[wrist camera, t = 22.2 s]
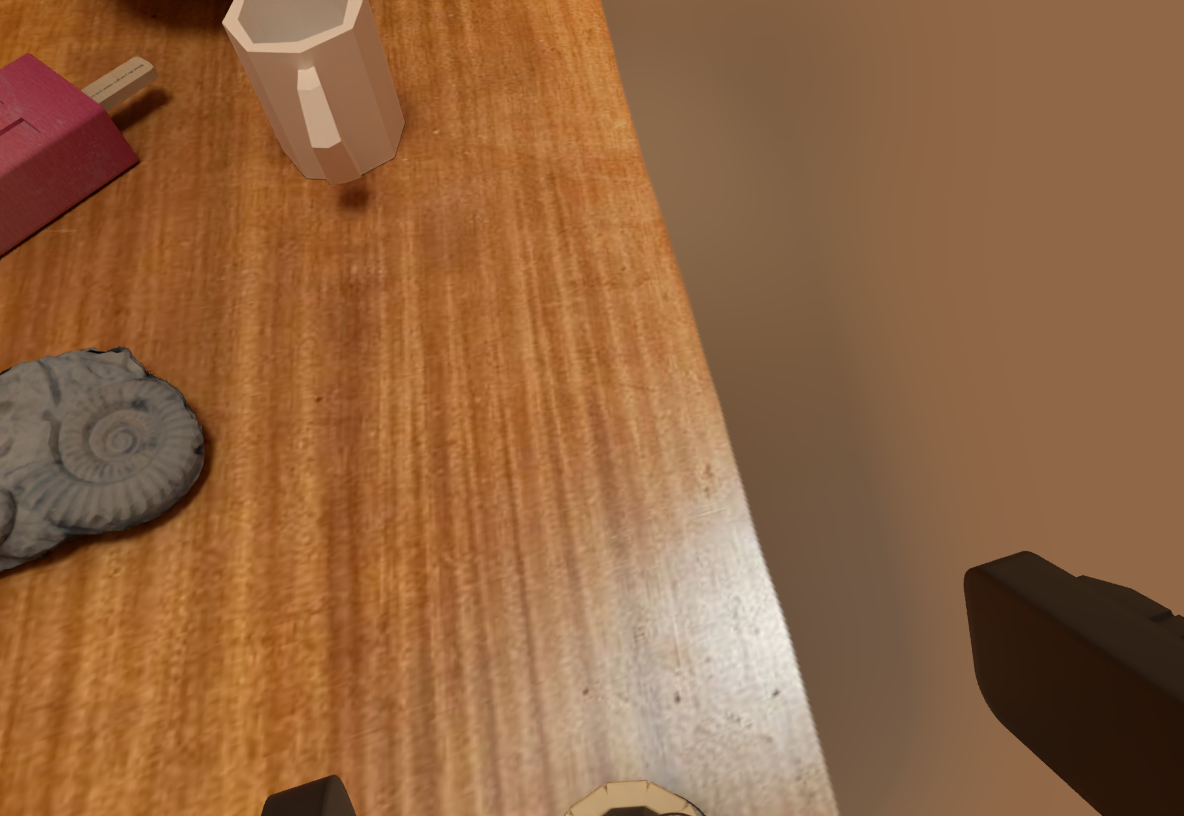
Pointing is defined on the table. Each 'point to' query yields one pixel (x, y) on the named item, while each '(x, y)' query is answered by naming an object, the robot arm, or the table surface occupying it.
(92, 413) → the fossil
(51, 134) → the popsicle
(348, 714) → the table surface
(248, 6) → the mug
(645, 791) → the faceted pencil cup
